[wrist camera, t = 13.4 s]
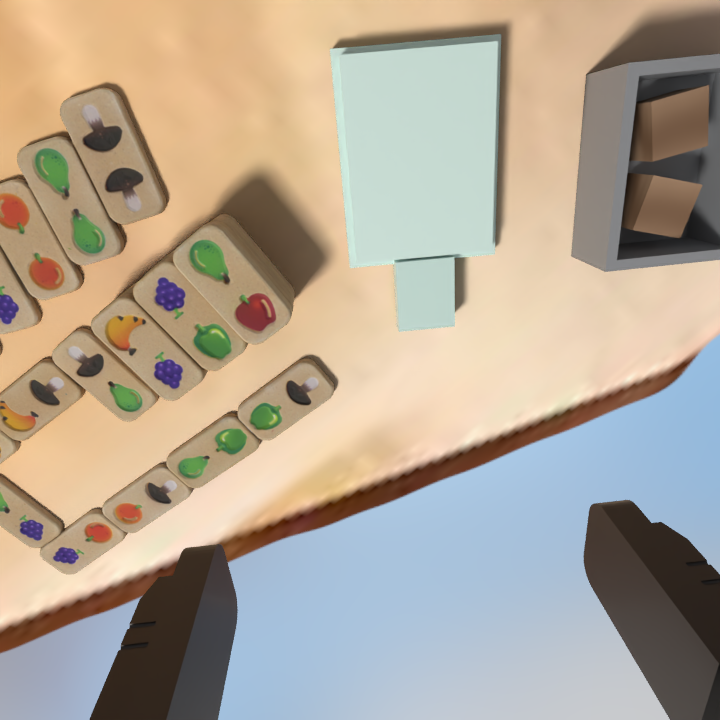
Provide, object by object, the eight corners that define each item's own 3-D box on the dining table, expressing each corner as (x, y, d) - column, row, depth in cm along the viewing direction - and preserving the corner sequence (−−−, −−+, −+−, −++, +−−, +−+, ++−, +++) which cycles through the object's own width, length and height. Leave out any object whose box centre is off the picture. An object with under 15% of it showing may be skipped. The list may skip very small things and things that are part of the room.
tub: (586, 74, 32) (628, 62, 28) (720, 61, 32) (785, 47, 28) (571, 256, 37) (605, 271, 32) (688, 244, 37) (738, 257, 33)
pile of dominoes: (110, 64, 31) (67, 48, 26) (364, 369, 41) (369, 400, 36) (-203, 371, 38) (-285, 406, 33) (77, 570, 47) (46, 621, 42)
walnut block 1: (624, 105, 33) (651, 101, 30) (677, 90, 32) (709, 84, 30) (626, 160, 34) (652, 161, 31) (677, 145, 34) (707, 145, 31)
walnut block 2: (627, 172, 34) (653, 175, 32) (673, 181, 35) (702, 184, 32) (609, 223, 36) (632, 230, 33) (653, 231, 36) (680, 238, 33)
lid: (330, 51, 31) (329, 45, 29) (496, 37, 31) (506, 30, 29) (355, 326, 38) (356, 335, 37) (489, 313, 39) (497, 322, 37)
